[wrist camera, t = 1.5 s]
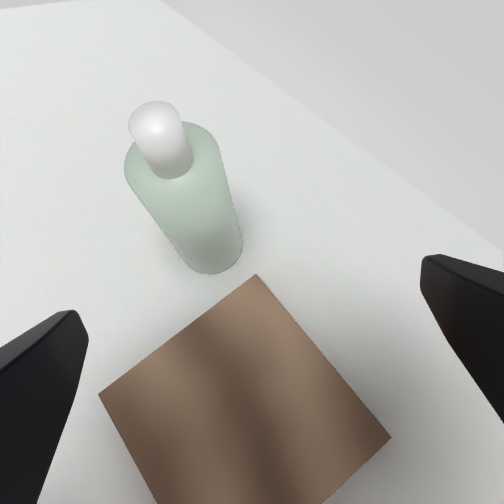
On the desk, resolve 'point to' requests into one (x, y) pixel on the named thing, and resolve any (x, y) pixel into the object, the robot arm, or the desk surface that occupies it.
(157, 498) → the walnut board
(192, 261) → the sage bottle
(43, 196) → the desk surface
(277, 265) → the desk surface
